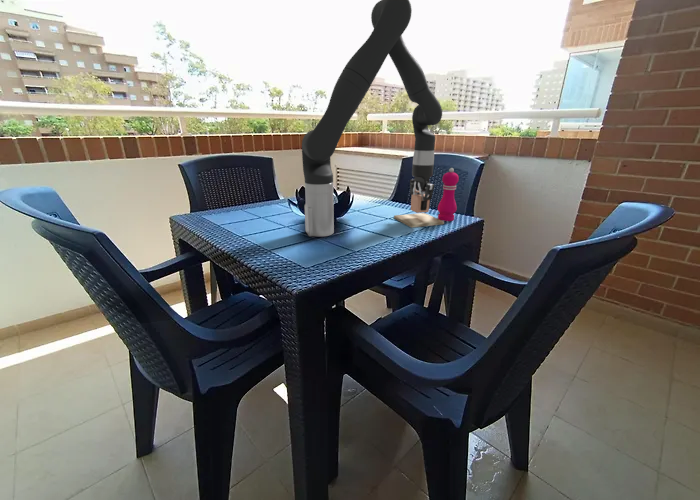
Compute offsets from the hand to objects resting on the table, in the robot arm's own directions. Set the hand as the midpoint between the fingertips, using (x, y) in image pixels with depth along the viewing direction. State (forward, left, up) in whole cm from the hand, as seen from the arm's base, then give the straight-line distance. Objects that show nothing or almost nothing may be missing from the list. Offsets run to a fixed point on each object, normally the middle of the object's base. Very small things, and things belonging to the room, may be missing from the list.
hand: (419, 208), depth 123 cm
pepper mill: (+12, -1, -5) cm, 13 cm away
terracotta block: (0, 0, -1) cm, 1 cm away
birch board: (0, 0, -5) cm, 5 cm away
